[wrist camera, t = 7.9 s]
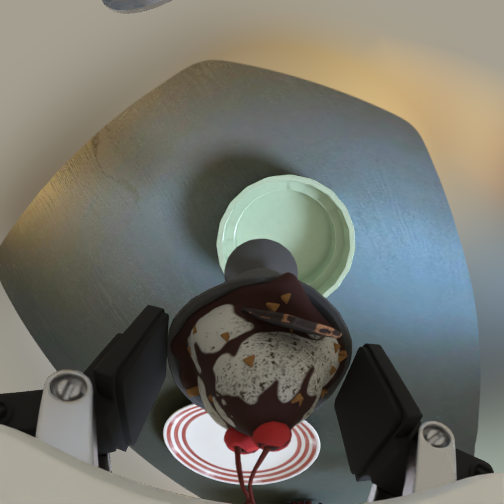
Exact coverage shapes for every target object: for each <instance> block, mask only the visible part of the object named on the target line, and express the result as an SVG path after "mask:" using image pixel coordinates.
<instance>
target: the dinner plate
mask: <svg viewBox="0 0 504 504" xmlns="http://www.w3.org/2000/svg"><path fill="white" fill-rule="evenodd" d="M226 431H227V430H226V429H224V428H223V427H221V426H220V425H218V424H217V423H216V422H215V421H214V420H213V419H212V418H211V417H210V415H209V414H208V413H207V412H206V411H205V410H204V409H202V408H200V407H199V406H197V405H195V404H190V405H187V406H185V407H183V408H181V409H179V410H177V411H176V412H174V413H173V414H172V415H171V416H170V417H169V418H168V420H167V421H166V423H165V426H164V429H163V437H164V441H165V444H166V446H167V448H168V449H169V451H170V452H171V453H172V455H173V456H174V457H175V458H176V459H177V460H178V461H180V462H181V463H182V464H183V465H185V466H186V467H188V468H189V469H191V470H193V471H194V472H196V473H198V474H201V475H203V476H205V477H208V478H211V479H214V480H218V481H221V482H226V483H232V484H240V483H239V480H238V475H237V470H236V465H235V452H233V451H231V450H230V449H228V447H227V446H226V444H225V442H224V435H225V432H226ZM291 431H292V438H291V442H290V443H289V445H288V446H287V447H286V448H284V449H282V450H280V451H277V452H270V451H269V453H268V454H267V456H266V457H265V459H264V460H263V462H262V464H261V465H260V467H259V468H258V469H257V472H256V474H255V477H254V479H253V483H252V485H260V484H269V483H275V482H279V481H283V480H286V479H289V478H291V477H294V476H296V475H298V474H300V473H302V472H303V471H305V470H306V469H307V468H308V467H309V466H311V465H312V463H313V462H314V461H315V460H316V458H317V456H318V454H319V451H320V439H319V436H318V434H317V432H316V431H315V429H314V428H313V427H312V426H311V425H310V424H309V423H308V422H307V421H305V420H303V421H302V422H301V423H300V424H298V425H296V426H295V427H293V428H292V430H291ZM262 451H263V450H262V449H259V450H258V451H256V452H255V453H251V454H245V455H243V454H241V464H242V472H243V479H244V485H248V481H249V478H250V475H251V472H252V470H253V468H254V466H255V464H256V462H257V460H258V458H259V457H260V455H261V453H262Z"/></svg>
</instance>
